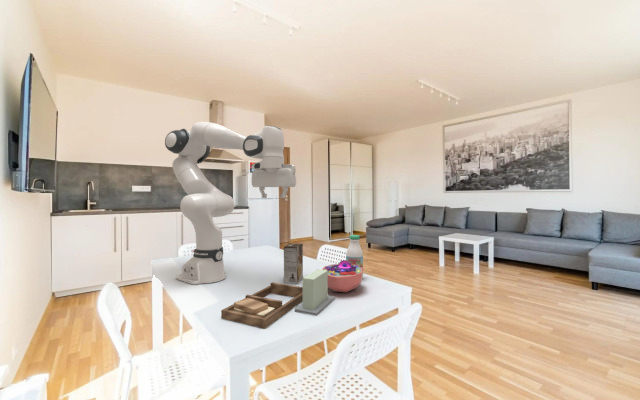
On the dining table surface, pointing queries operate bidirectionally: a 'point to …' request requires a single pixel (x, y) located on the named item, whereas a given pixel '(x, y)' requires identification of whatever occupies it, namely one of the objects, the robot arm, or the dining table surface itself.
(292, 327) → the dining table surface
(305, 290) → the pale green cuboid
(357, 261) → the milk bottle
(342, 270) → the cell model
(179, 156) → the robot arm
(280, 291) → the frame
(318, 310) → the slate pad
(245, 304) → the offcut stack
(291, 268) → the coffee box
